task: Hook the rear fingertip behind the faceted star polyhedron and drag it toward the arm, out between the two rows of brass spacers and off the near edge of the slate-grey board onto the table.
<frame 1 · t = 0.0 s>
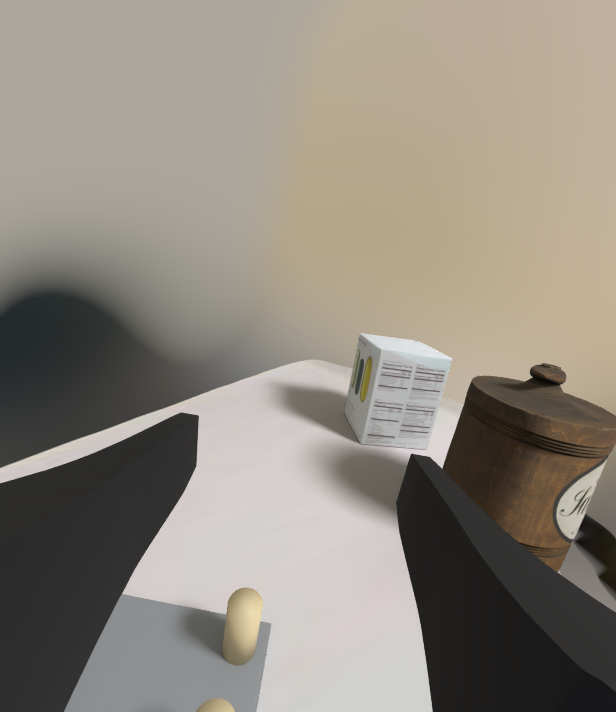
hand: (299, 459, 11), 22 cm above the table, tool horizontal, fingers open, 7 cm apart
wooden container: (491, 528, 43), on the table
supplement box: (381, 430, 66), on the table
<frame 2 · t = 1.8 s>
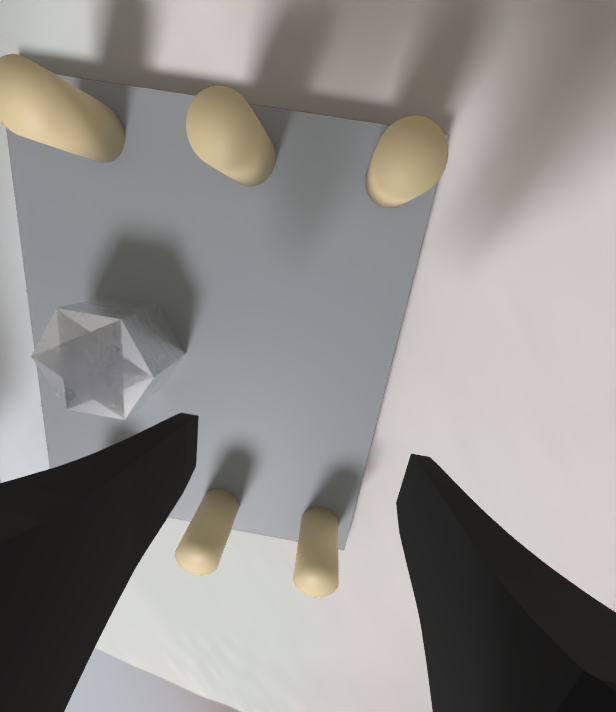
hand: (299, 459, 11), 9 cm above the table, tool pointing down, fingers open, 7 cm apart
faceted star polyhedron: (135, 344, 19), point 1 cm above the table, touching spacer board
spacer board: (212, 351, 19), on the table
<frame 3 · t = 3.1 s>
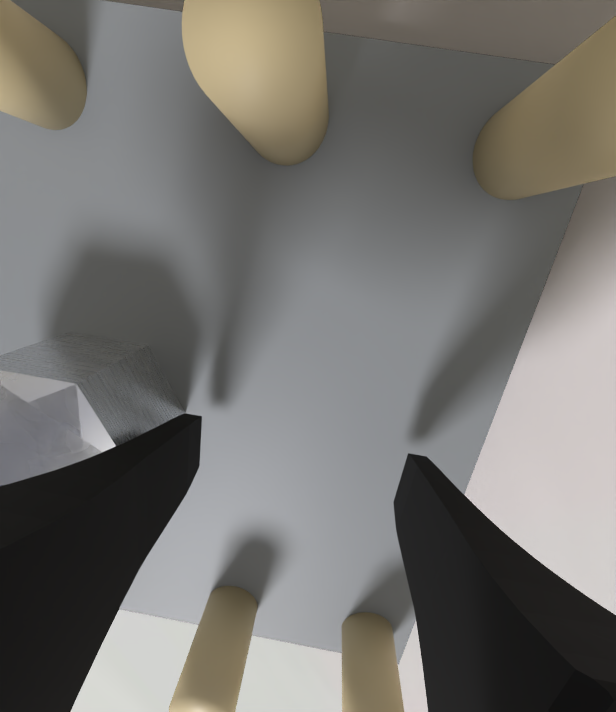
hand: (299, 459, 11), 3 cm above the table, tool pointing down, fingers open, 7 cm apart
faceted star polyhedron: (112, 399, 13), point 1 cm above the table, touching gripper
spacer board: (222, 405, 14), on the table
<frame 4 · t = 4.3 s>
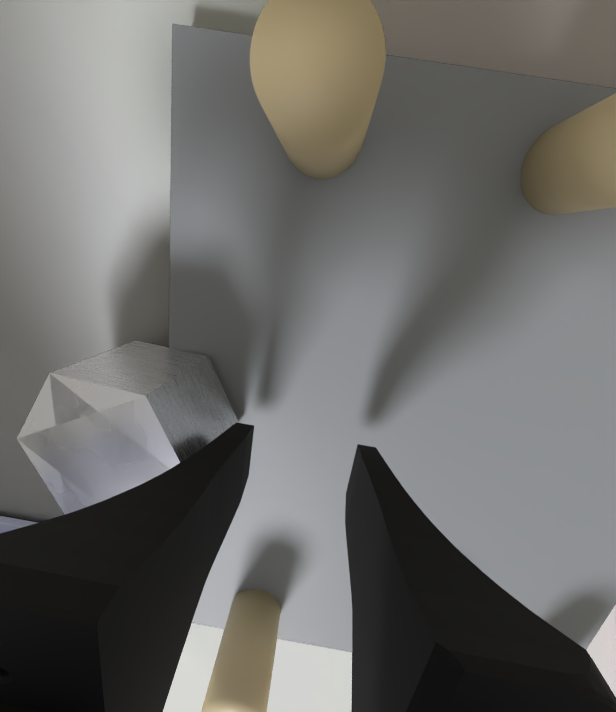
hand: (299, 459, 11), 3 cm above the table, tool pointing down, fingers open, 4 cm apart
faceted star polyhedron: (170, 408, 13), point 1 cm above the table, tilted 7°, touching gripper, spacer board
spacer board: (416, 439, 14), on the table
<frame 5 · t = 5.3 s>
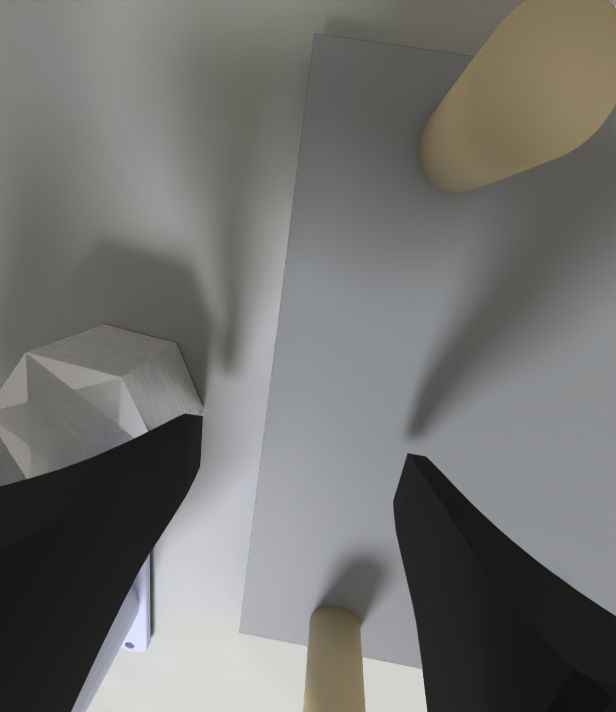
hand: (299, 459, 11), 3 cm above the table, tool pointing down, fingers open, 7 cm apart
faceted star polyhedron: (136, 389, 14), on the table, touching gripper
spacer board: (514, 457, 13), on the table
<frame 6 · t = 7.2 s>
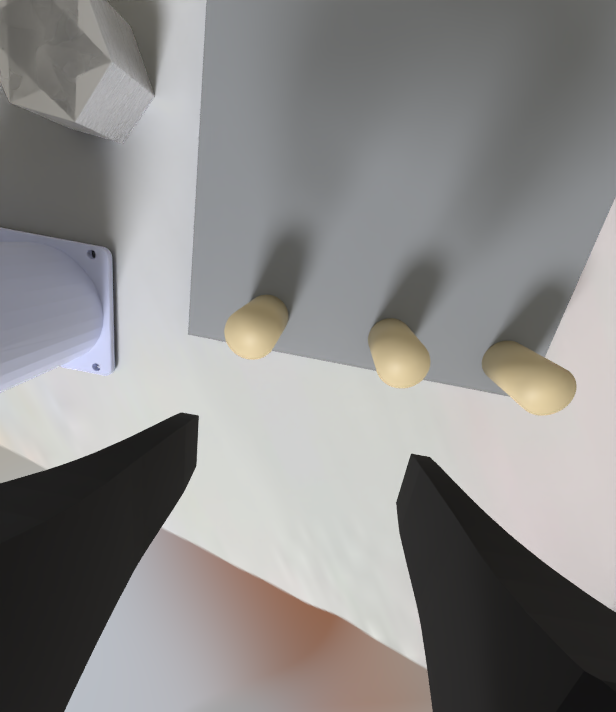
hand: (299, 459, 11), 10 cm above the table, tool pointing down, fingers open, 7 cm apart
faceted star polyhedron: (100, 80, 17), on the table
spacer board: (408, 135, 16), on the table
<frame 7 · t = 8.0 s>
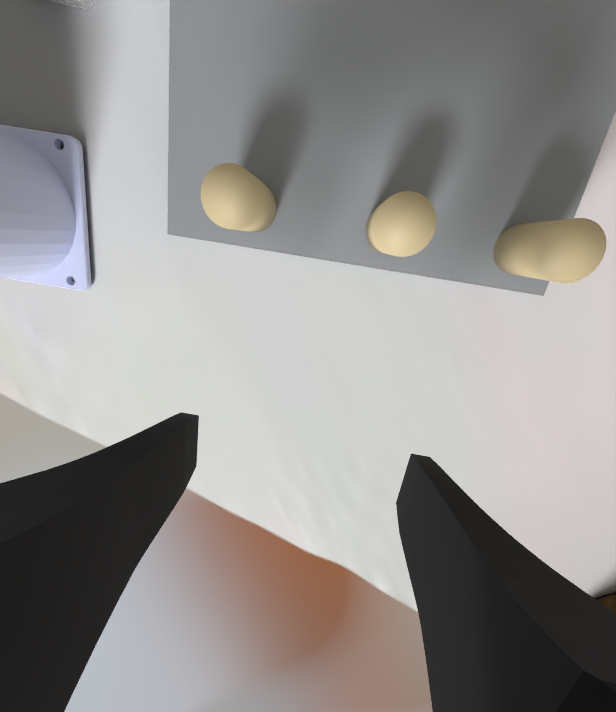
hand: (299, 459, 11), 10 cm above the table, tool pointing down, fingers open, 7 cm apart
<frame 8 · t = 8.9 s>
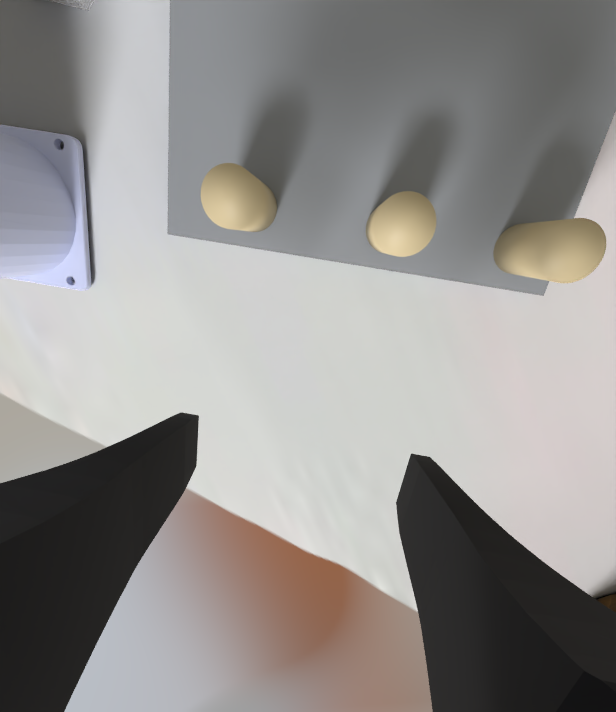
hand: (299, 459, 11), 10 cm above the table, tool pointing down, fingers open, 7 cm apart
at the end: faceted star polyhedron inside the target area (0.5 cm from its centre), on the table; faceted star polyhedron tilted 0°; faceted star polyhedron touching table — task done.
